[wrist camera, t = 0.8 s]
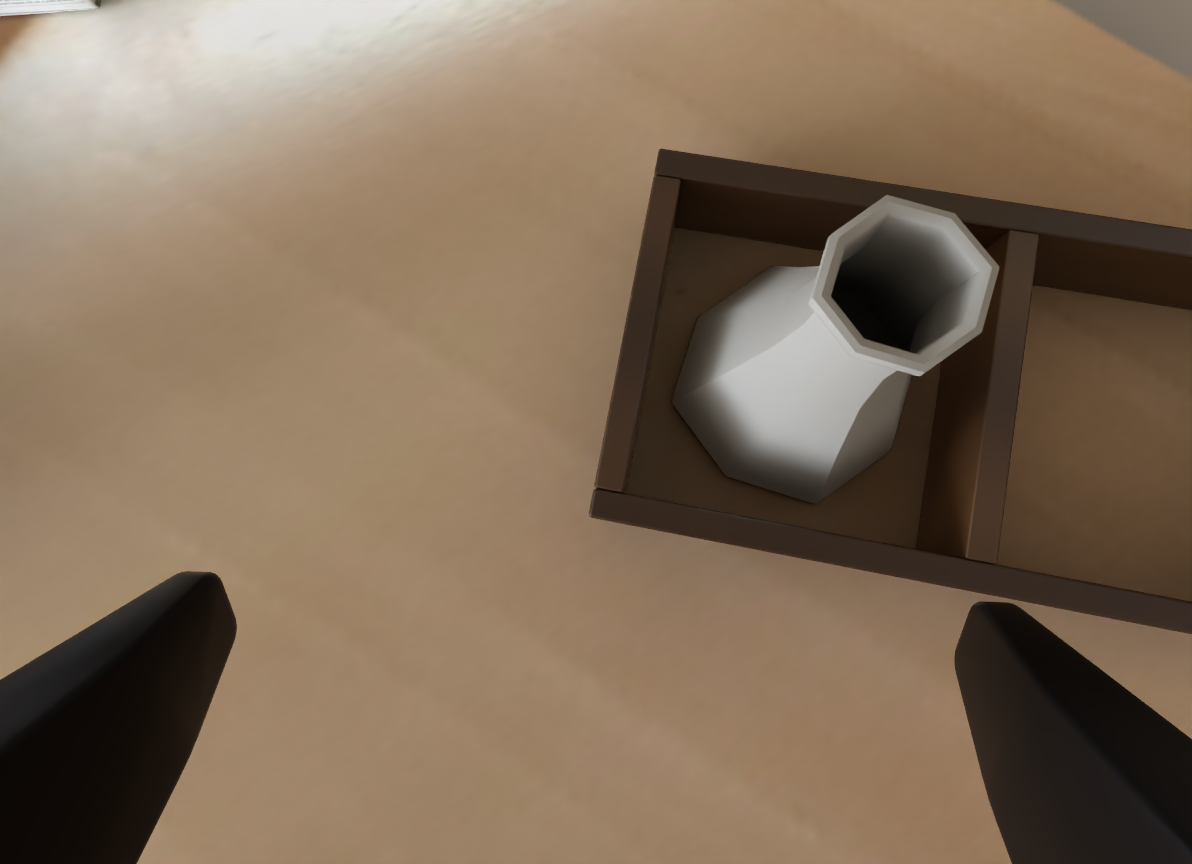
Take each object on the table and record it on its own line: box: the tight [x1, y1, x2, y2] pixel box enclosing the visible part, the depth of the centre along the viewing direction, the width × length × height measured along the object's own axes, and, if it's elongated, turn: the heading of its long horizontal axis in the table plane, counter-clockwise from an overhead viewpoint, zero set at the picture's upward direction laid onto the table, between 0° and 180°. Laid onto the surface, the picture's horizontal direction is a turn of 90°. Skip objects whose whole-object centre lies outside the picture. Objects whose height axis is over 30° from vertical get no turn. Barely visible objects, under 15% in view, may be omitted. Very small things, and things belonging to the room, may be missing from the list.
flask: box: [671, 195, 1000, 504], centre depth 18 cm, size 7×7×10 cm
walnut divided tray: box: [589, 149, 1192, 634], centre depth 21 cm, size 11×20×4 cm, turn 79°
